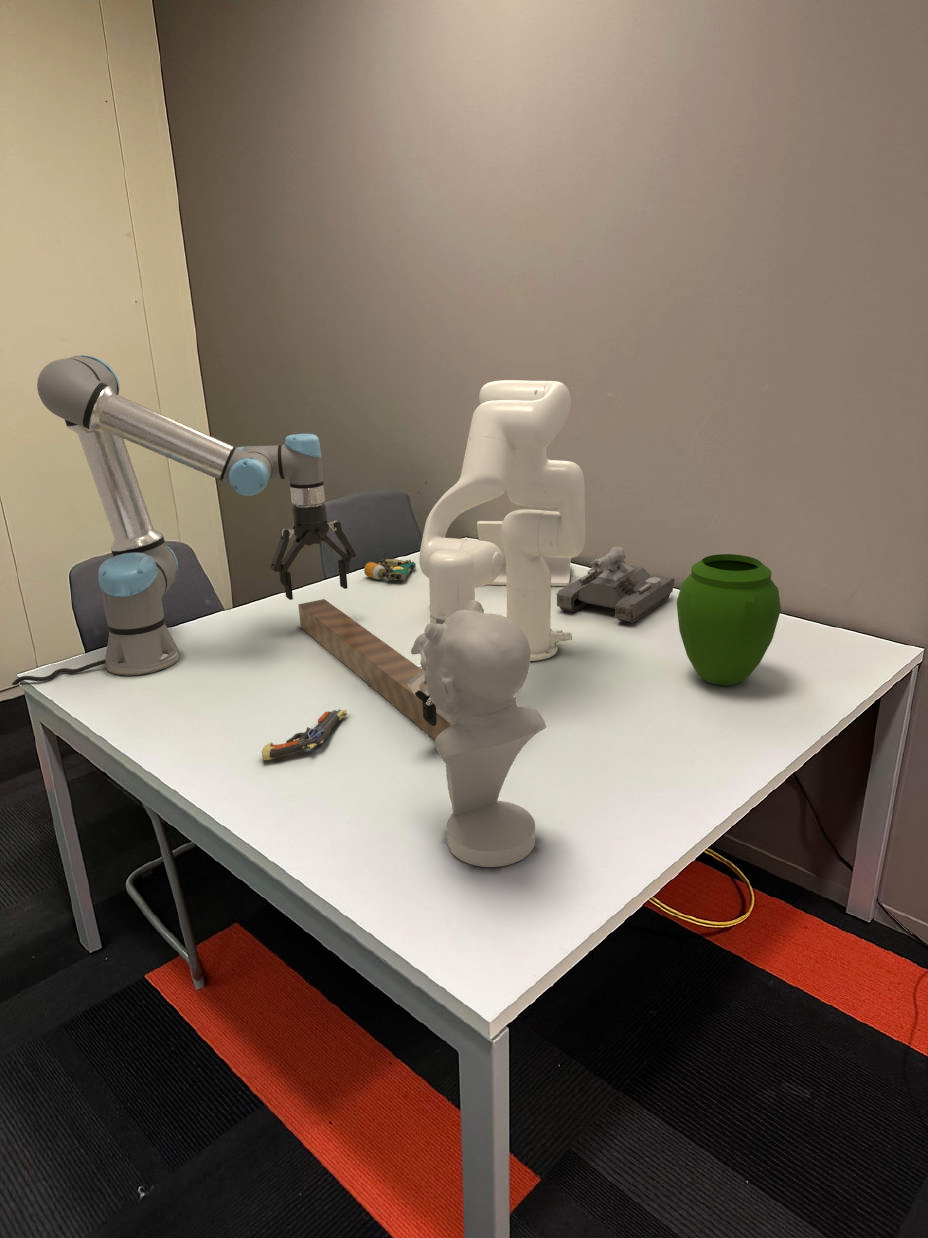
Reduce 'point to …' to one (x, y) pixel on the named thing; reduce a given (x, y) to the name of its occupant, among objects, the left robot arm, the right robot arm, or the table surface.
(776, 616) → the vase
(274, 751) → the toy gun
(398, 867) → the table surface
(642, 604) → the toy
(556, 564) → the tablet stand
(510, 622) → the bust sculpture
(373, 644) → the beam
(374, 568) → the spray gun
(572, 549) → the right robot arm
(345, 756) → the table surface
